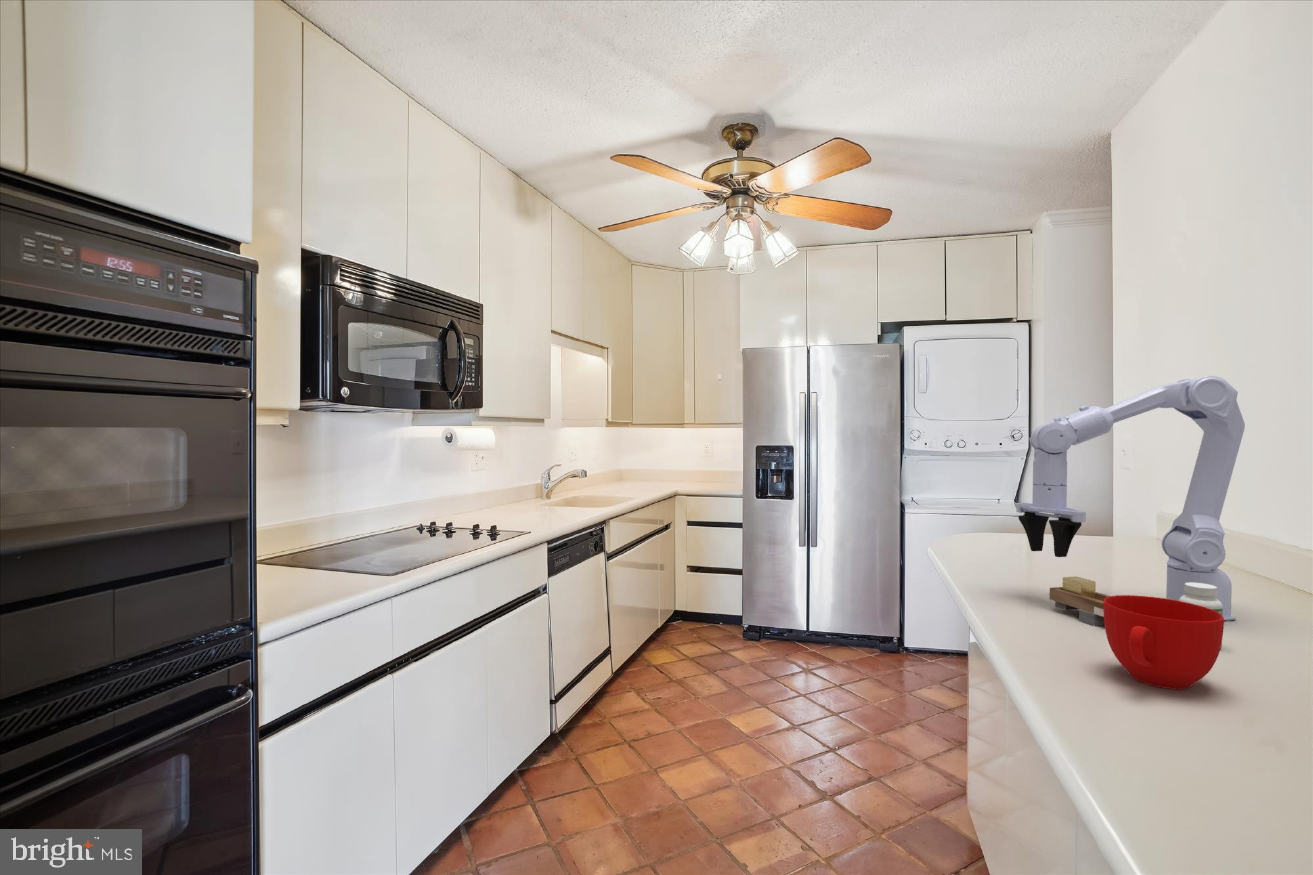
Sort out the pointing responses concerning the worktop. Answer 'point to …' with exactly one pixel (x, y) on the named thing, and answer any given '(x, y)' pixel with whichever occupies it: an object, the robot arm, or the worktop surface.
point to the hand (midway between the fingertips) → (1048, 553)
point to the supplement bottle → (1202, 596)
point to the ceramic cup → (1163, 639)
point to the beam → (1080, 605)
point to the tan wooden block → (1080, 586)
